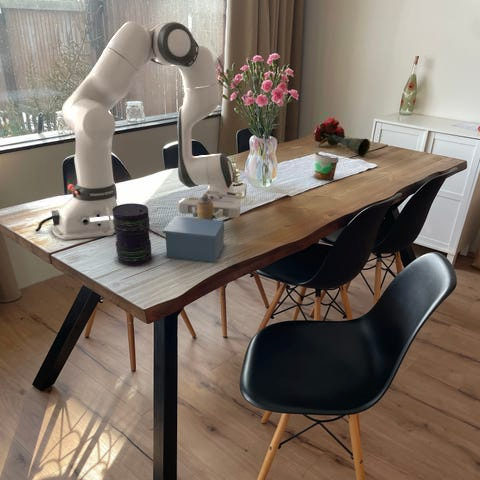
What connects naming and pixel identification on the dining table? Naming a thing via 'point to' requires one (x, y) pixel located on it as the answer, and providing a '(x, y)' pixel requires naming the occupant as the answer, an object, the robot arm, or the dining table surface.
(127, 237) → the black cylinder
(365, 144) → the red rose bouquet
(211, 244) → the storage box
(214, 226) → the box lid
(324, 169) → the food container
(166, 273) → the dining table surface
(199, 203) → the pepper mill
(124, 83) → the robot arm
